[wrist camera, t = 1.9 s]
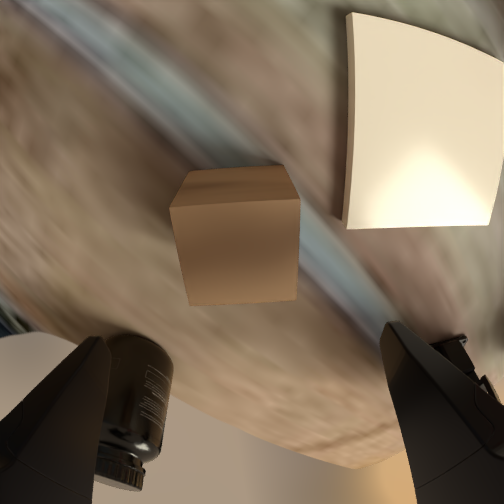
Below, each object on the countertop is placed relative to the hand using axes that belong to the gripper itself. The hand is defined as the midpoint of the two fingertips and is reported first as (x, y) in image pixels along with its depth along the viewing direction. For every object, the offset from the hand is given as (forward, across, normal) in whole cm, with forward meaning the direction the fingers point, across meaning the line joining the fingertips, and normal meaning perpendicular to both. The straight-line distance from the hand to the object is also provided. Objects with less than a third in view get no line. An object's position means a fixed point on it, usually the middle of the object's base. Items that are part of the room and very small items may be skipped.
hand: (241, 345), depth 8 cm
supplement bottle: (+10, +10, +13) cm, 19 cm away
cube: (+10, 0, 0) cm, 10 cm away
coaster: (+10, -12, -5) cm, 16 cm away
